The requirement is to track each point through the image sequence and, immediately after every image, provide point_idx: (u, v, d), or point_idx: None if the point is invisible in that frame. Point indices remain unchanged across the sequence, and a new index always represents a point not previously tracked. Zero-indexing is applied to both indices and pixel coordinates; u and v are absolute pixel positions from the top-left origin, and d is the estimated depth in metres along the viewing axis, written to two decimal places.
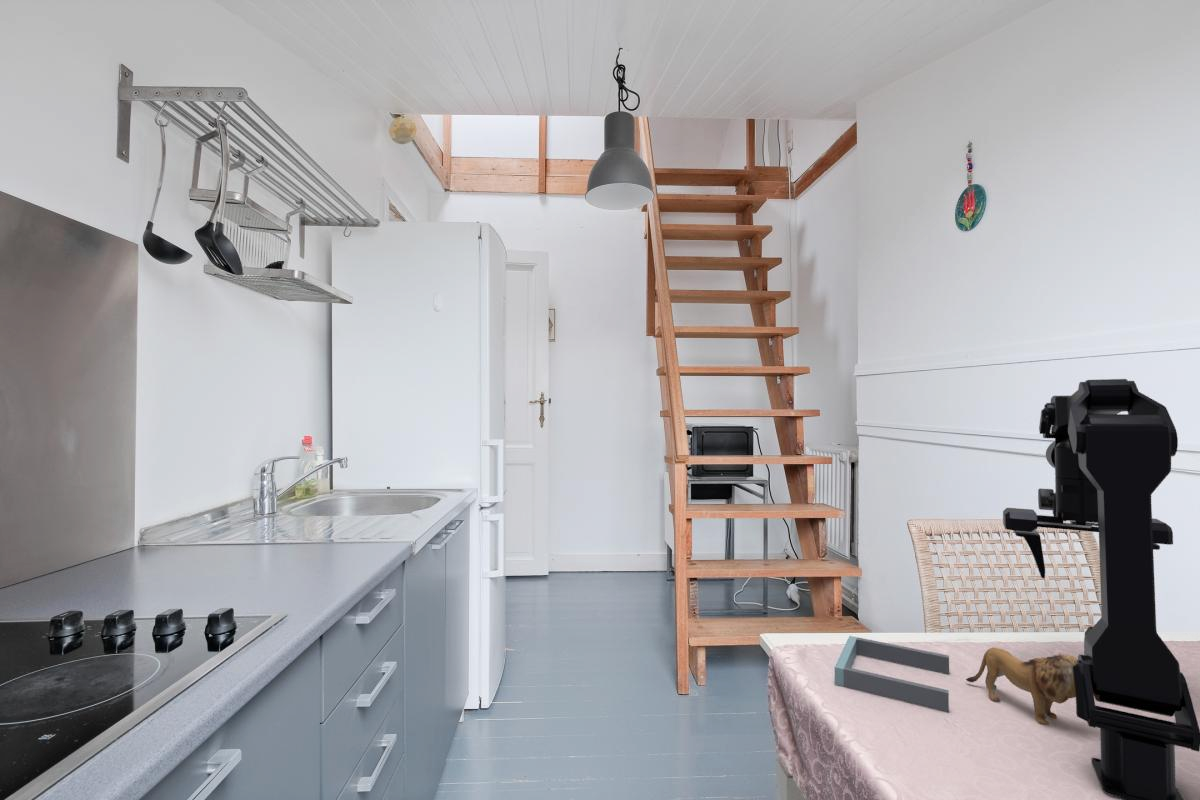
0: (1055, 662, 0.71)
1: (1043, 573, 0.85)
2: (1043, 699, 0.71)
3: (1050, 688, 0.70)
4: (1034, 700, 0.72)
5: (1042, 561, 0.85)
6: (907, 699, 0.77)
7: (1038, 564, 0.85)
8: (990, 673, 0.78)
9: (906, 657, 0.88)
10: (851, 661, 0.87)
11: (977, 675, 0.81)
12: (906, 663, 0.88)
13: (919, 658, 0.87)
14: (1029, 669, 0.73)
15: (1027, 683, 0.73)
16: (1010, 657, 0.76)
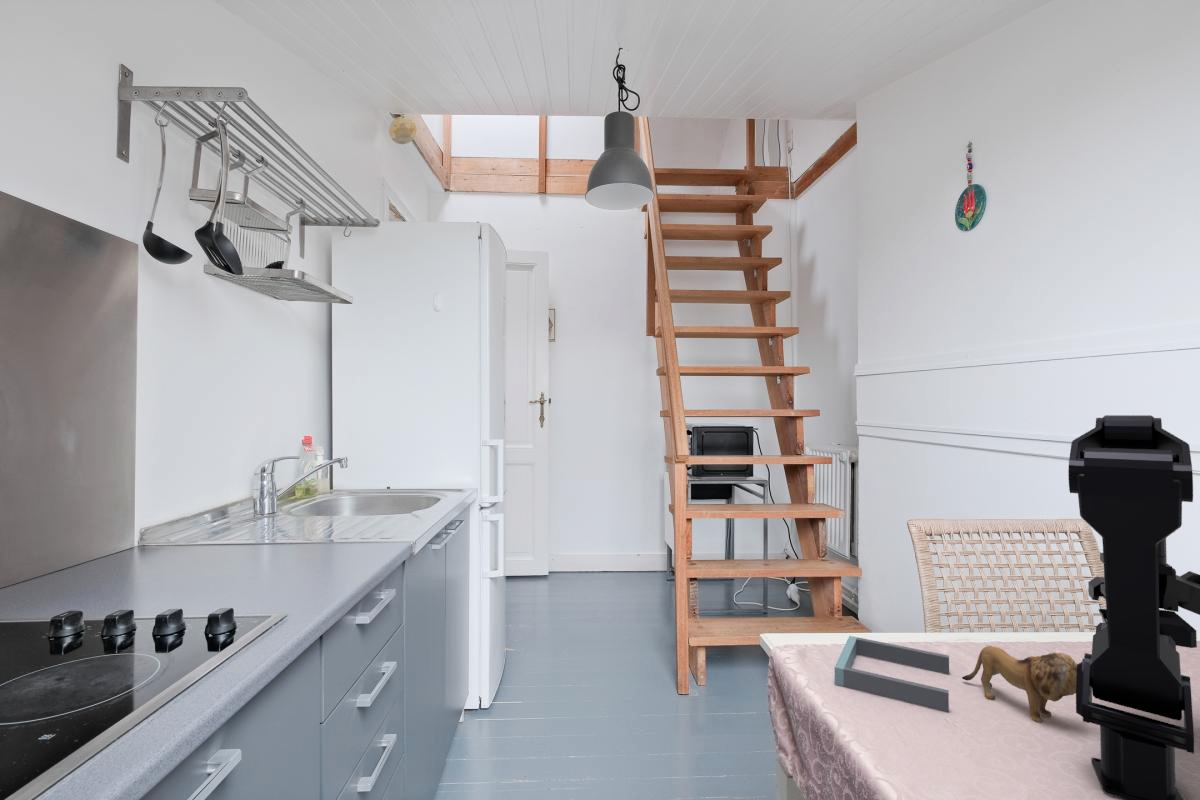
0: (1049, 660, 0.71)
1: None
2: (1038, 697, 0.72)
3: (1045, 686, 0.71)
4: (1029, 698, 0.73)
5: None
6: (907, 699, 0.77)
7: None
8: (986, 671, 0.78)
9: (906, 657, 0.88)
10: (851, 661, 0.87)
11: (973, 673, 0.82)
12: (906, 663, 0.88)
13: (919, 658, 0.87)
14: (1024, 667, 0.74)
15: (1022, 681, 0.74)
16: (1005, 655, 0.77)
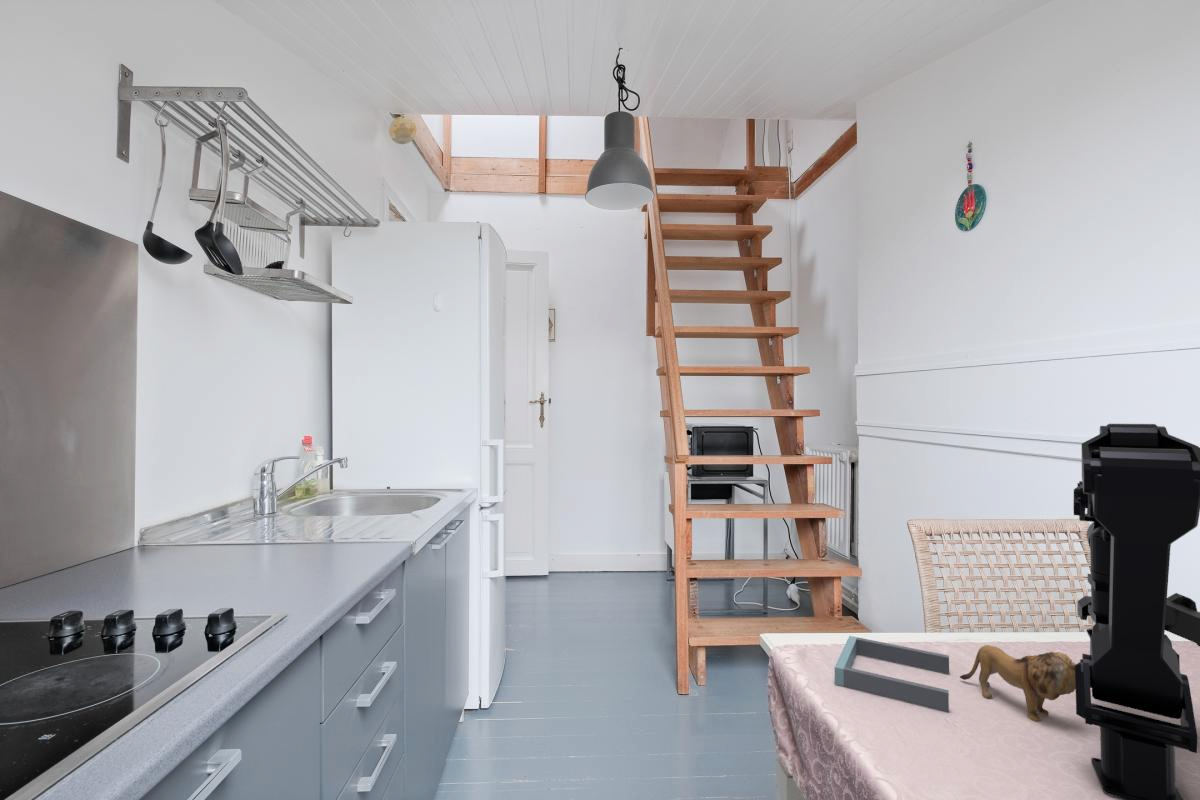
0: (1046, 659, 0.72)
1: None
2: (1035, 696, 0.72)
3: (1042, 685, 0.71)
4: (1026, 697, 0.73)
5: None
6: (907, 699, 0.77)
7: None
8: (983, 670, 0.79)
9: (906, 657, 0.88)
10: (851, 661, 0.87)
11: (971, 672, 0.82)
12: (906, 663, 0.88)
13: (919, 658, 0.87)
14: (1022, 666, 0.74)
15: (1019, 680, 0.74)
16: (1003, 654, 0.77)
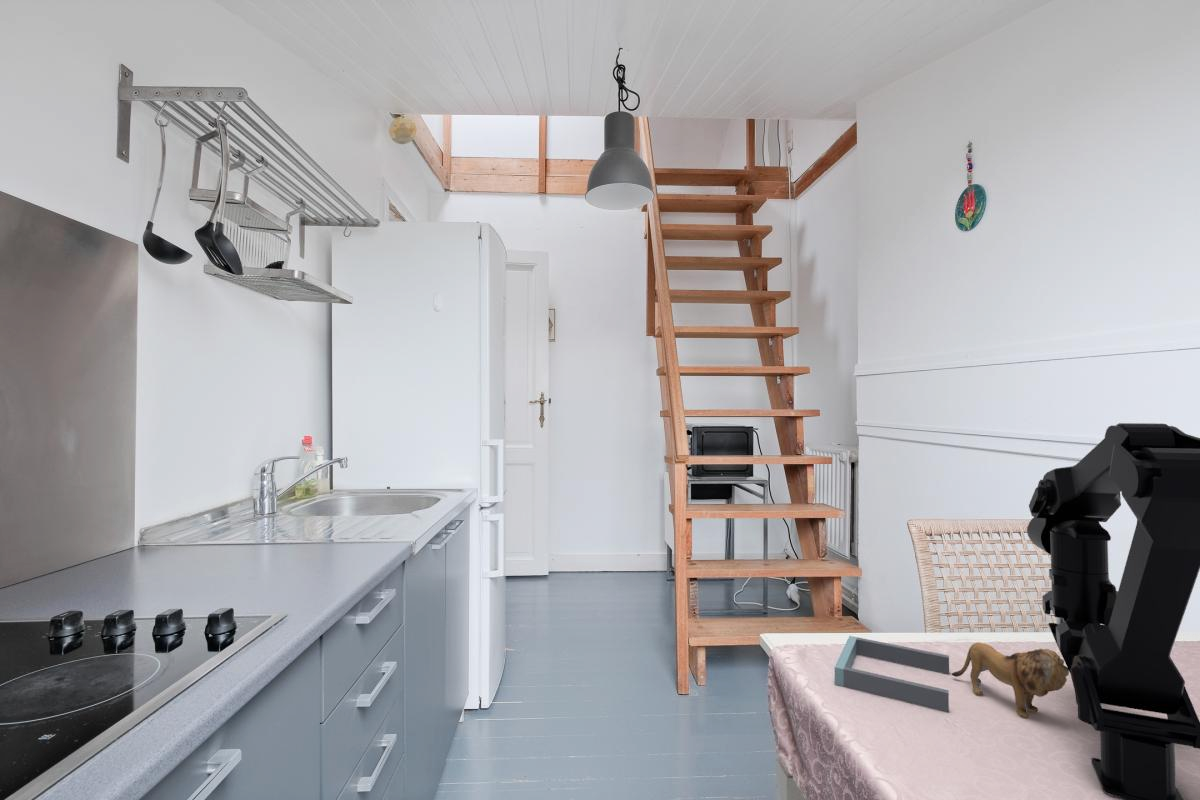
0: (1035, 656, 0.72)
1: None
2: (1024, 692, 0.73)
3: (1030, 682, 0.72)
4: (1015, 693, 0.74)
5: None
6: (907, 699, 0.77)
7: None
8: (974, 667, 0.79)
9: (906, 657, 0.88)
10: (851, 661, 0.87)
11: (962, 670, 0.83)
12: (906, 663, 0.88)
13: (919, 658, 0.87)
14: (1011, 663, 0.75)
15: (1009, 677, 0.75)
16: (993, 652, 0.78)
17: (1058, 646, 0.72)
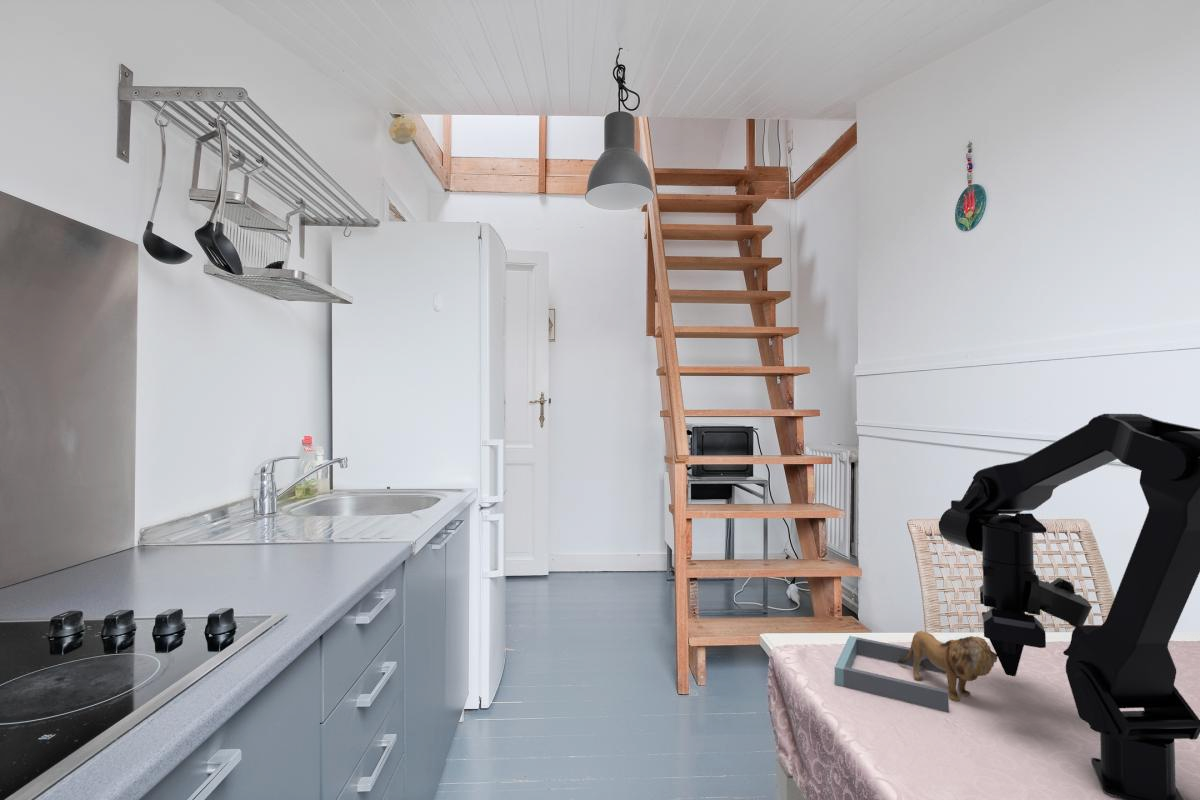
0: (964, 643, 0.76)
1: None
2: (955, 677, 0.77)
3: (959, 667, 0.76)
4: (947, 678, 0.78)
5: None
6: (907, 699, 0.77)
7: None
8: (915, 654, 0.84)
9: None
10: (851, 661, 0.87)
11: (907, 657, 0.87)
12: (906, 663, 0.88)
13: None
14: (945, 649, 0.79)
15: (942, 663, 0.79)
16: (931, 639, 0.82)
17: None
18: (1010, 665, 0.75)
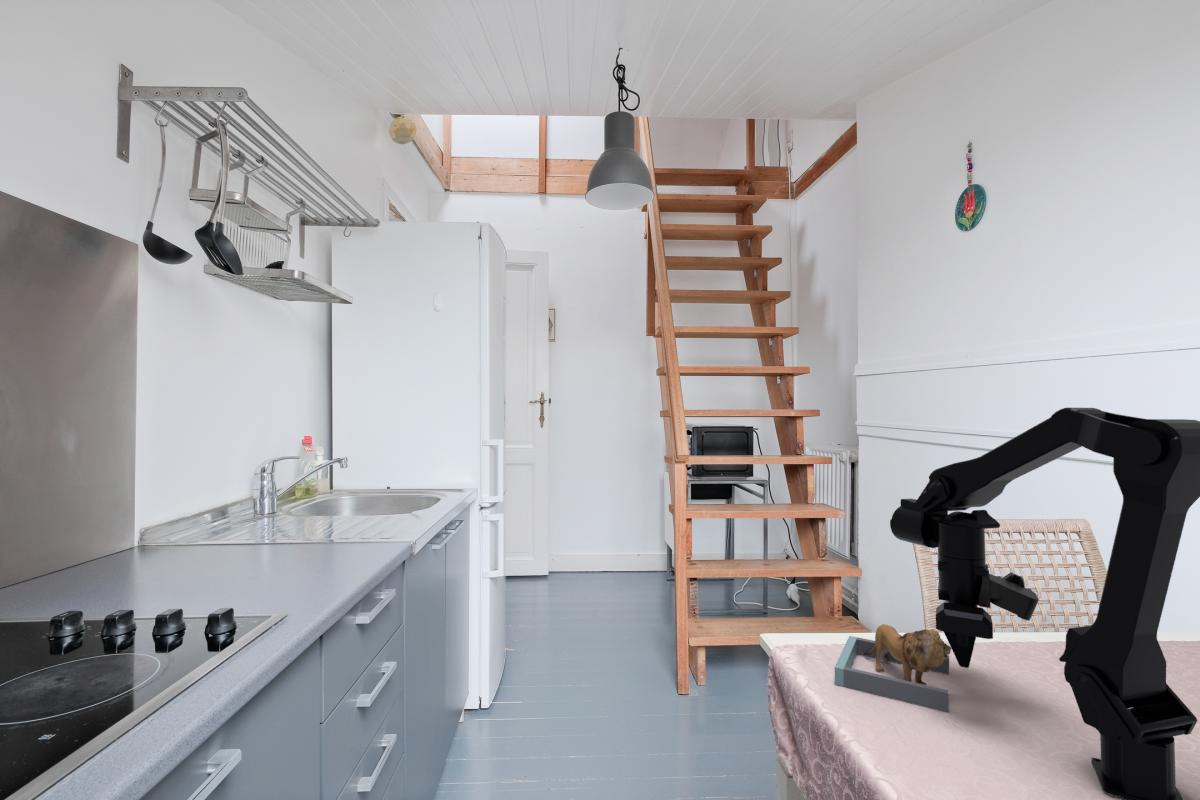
0: (918, 635, 0.79)
1: None
2: (910, 668, 0.80)
3: (913, 658, 0.79)
4: (903, 669, 0.81)
5: None
6: (907, 699, 0.77)
7: None
8: (877, 646, 0.87)
9: None
10: (851, 661, 0.87)
11: (872, 649, 0.90)
12: None
13: None
14: (902, 641, 0.82)
15: (899, 654, 0.82)
16: (892, 632, 0.85)
17: None
18: (963, 657, 0.78)
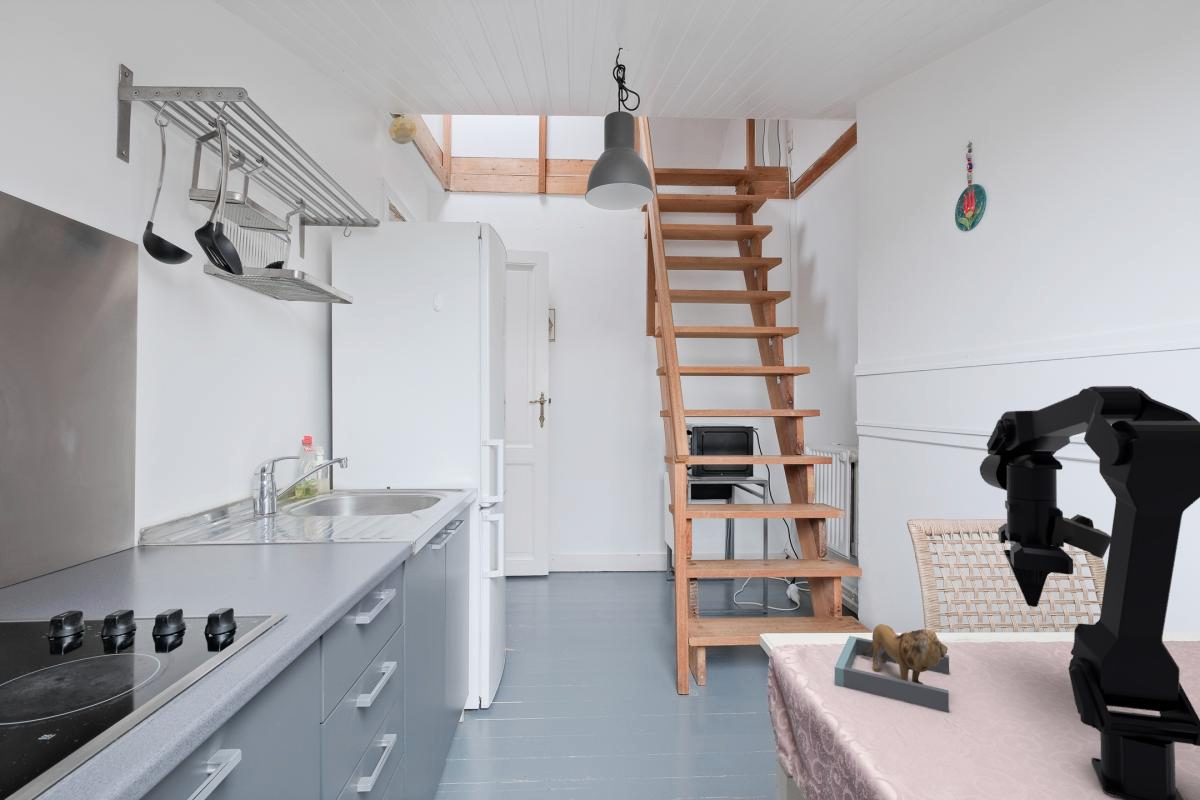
0: (915, 635, 0.79)
1: None
2: (906, 668, 0.80)
3: (909, 658, 0.79)
4: (900, 669, 0.81)
5: (1018, 584, 0.81)
6: (907, 699, 0.77)
7: None
8: (874, 646, 0.87)
9: None
10: (851, 661, 0.87)
11: (869, 649, 0.90)
12: None
13: None
14: (899, 641, 0.82)
15: (896, 654, 0.82)
16: (889, 632, 0.85)
17: (1012, 567, 0.79)
18: (1032, 596, 0.80)
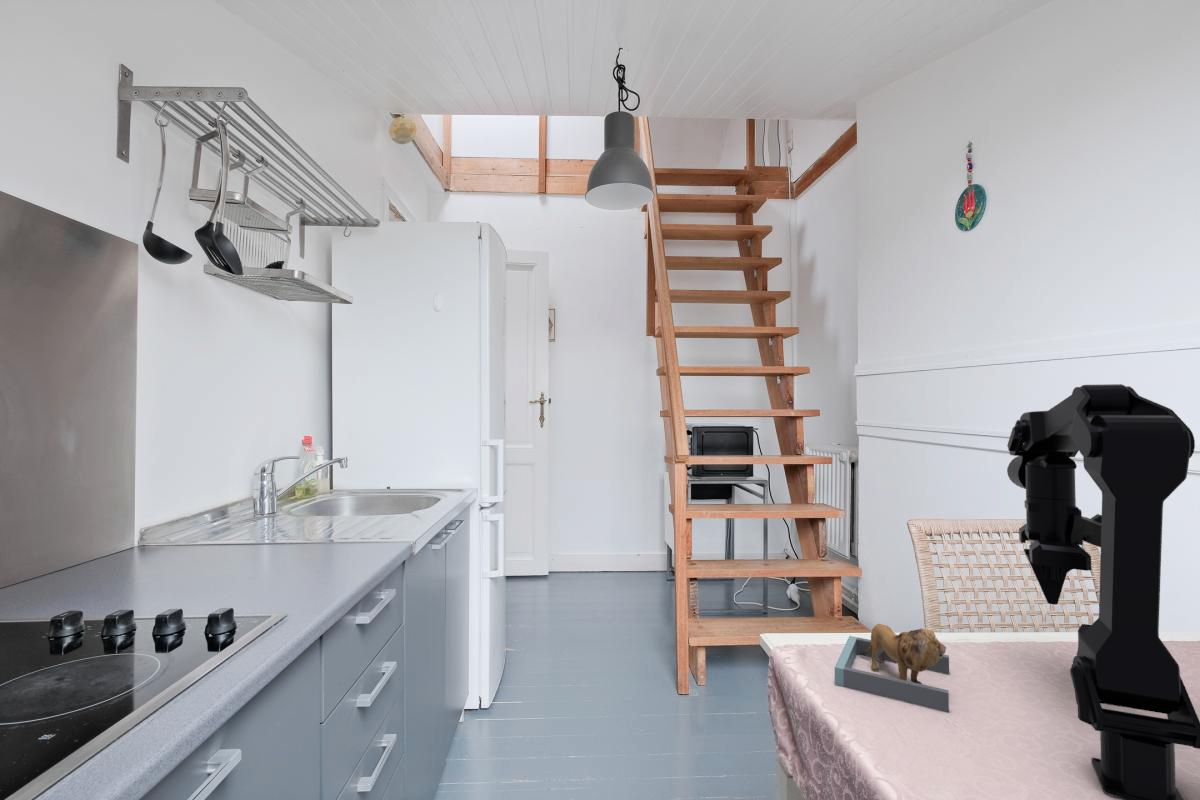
0: (914, 635, 0.79)
1: None
2: (905, 667, 0.80)
3: (908, 658, 0.79)
4: None
5: None
6: (907, 699, 0.77)
7: None
8: (872, 646, 0.87)
9: None
10: (851, 661, 0.87)
11: (868, 649, 0.90)
12: None
13: None
14: (897, 641, 0.82)
15: (895, 654, 0.82)
16: (887, 632, 0.85)
17: (1031, 565, 0.81)
18: (1052, 594, 0.81)
